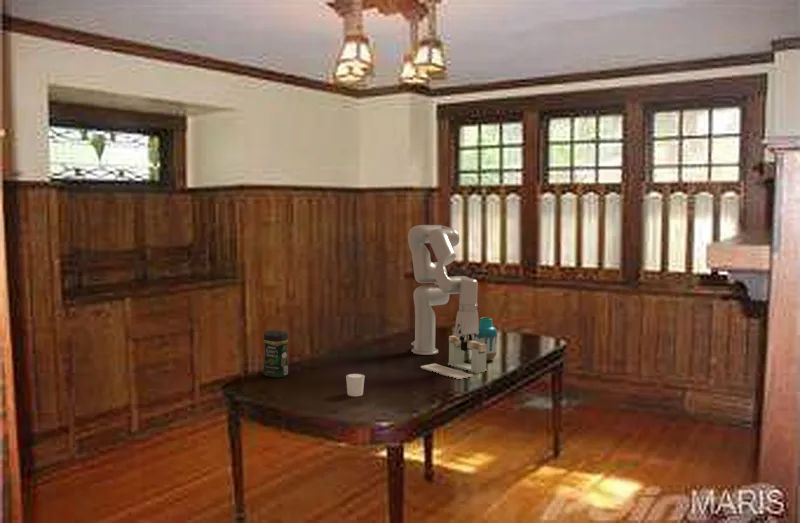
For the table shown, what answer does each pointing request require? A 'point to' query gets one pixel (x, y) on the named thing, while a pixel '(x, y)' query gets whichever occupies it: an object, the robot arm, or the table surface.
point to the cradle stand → (476, 361)
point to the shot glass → (355, 384)
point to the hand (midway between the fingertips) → (466, 349)
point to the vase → (487, 337)
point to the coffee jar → (275, 353)
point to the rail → (468, 343)
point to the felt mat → (446, 371)
